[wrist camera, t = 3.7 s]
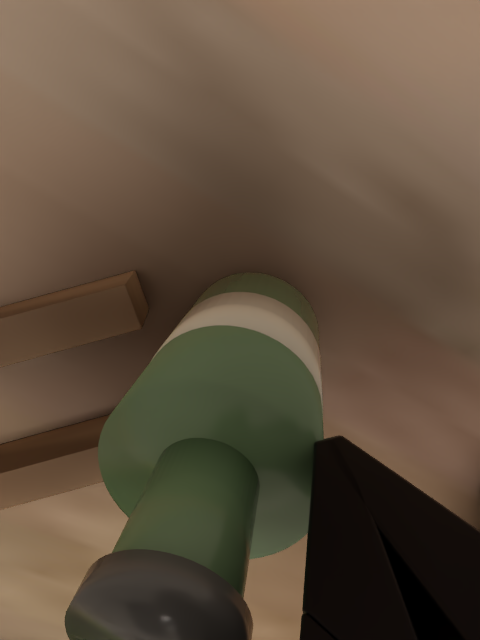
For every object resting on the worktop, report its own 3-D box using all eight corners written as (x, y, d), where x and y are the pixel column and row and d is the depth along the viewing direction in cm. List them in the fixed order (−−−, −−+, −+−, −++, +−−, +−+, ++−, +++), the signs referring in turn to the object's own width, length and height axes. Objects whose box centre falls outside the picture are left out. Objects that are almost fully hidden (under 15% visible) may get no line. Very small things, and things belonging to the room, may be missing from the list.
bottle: (330, 381, 15) (363, 758, 6) (211, 397, 16) (76, 728, 7) (304, 258, 13) (289, 510, 4) (172, 287, 14) (-74, 530, 5)
